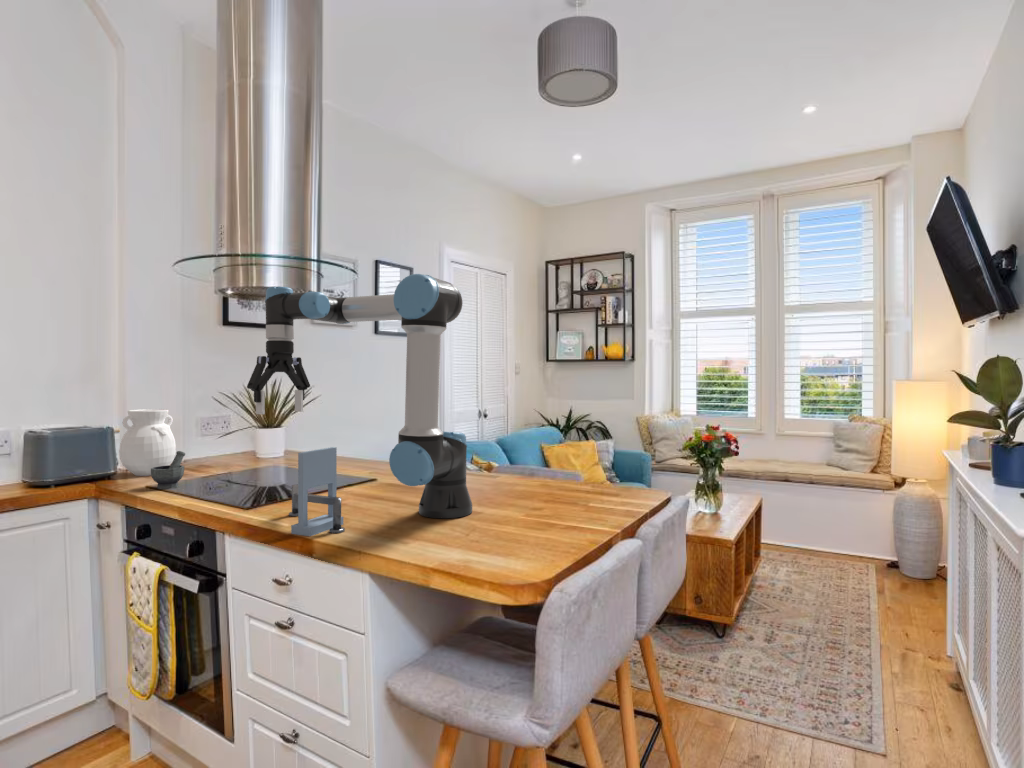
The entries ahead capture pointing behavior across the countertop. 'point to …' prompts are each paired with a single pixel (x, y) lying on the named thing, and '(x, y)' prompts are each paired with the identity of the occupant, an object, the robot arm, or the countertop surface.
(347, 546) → the countertop surface
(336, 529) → the grey bent bar frame
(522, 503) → the countertop surface
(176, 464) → the mortar and pestle
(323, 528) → the blue-grey upright frame
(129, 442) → the white handled vase
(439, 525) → the countertop surface
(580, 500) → the countertop surface
